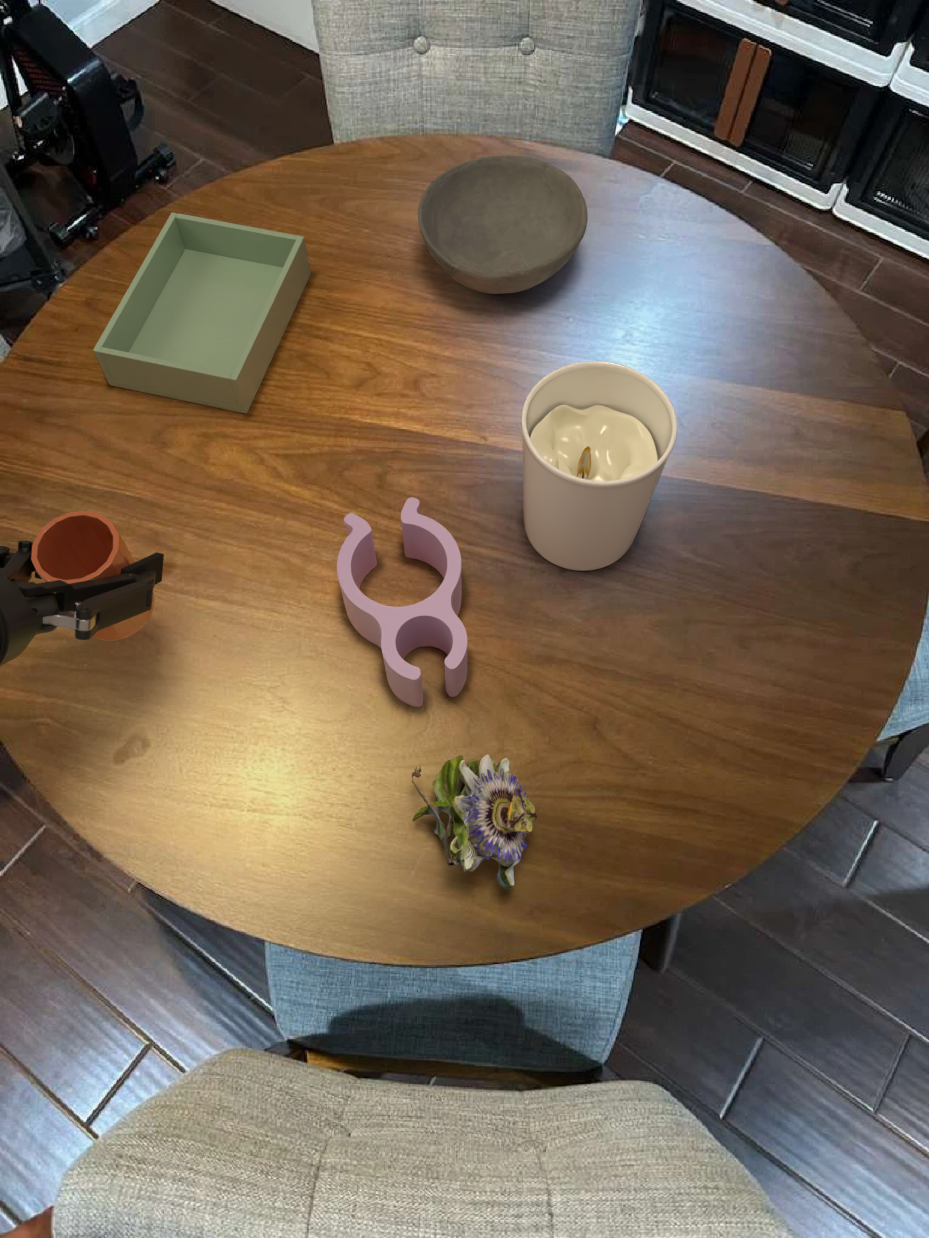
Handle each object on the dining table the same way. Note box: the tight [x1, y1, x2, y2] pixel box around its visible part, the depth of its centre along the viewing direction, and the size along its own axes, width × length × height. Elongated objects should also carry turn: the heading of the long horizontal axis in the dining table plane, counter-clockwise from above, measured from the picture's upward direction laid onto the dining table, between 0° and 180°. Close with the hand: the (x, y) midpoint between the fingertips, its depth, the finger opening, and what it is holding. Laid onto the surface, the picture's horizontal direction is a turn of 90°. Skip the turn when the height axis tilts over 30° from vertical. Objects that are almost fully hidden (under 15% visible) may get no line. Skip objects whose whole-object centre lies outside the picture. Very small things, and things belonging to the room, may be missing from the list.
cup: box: [31, 510, 156, 642], centre depth 88 cm, size 7×7×11 cm
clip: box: [336, 496, 468, 708], centre depth 99 cm, size 20×12×7 cm, turn 17°
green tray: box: [92, 211, 312, 415], centre depth 118 cm, size 18×24×6 cm
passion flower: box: [411, 754, 538, 890], centre depth 89 cm, size 11×11×12 cm
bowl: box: [417, 155, 589, 295], centre depth 122 cm, size 21×21×8 cm
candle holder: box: [520, 360, 678, 572], centre depth 99 cm, size 15×15×18 cm
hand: (118, 557), depth 91 cm, fingers closed on cup, 7 cm apart
